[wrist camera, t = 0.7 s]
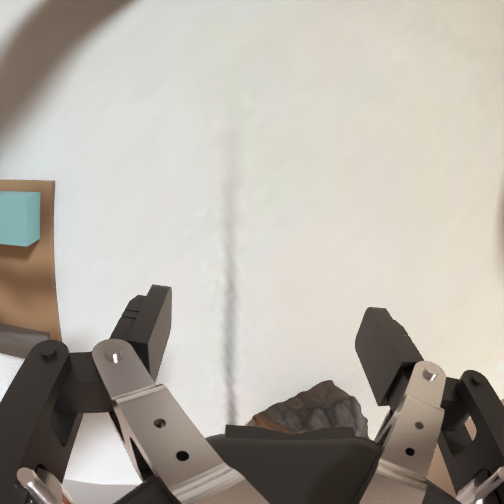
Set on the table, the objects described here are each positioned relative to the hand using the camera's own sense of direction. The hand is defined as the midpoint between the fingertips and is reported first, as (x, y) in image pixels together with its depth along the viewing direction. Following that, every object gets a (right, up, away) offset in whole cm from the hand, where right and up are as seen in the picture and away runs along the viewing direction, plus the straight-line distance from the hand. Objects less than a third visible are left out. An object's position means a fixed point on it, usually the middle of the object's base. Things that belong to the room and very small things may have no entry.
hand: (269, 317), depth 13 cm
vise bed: (-27, +1, +15) cm, 31 cm away
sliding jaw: (-26, +6, +12) cm, 29 cm away
